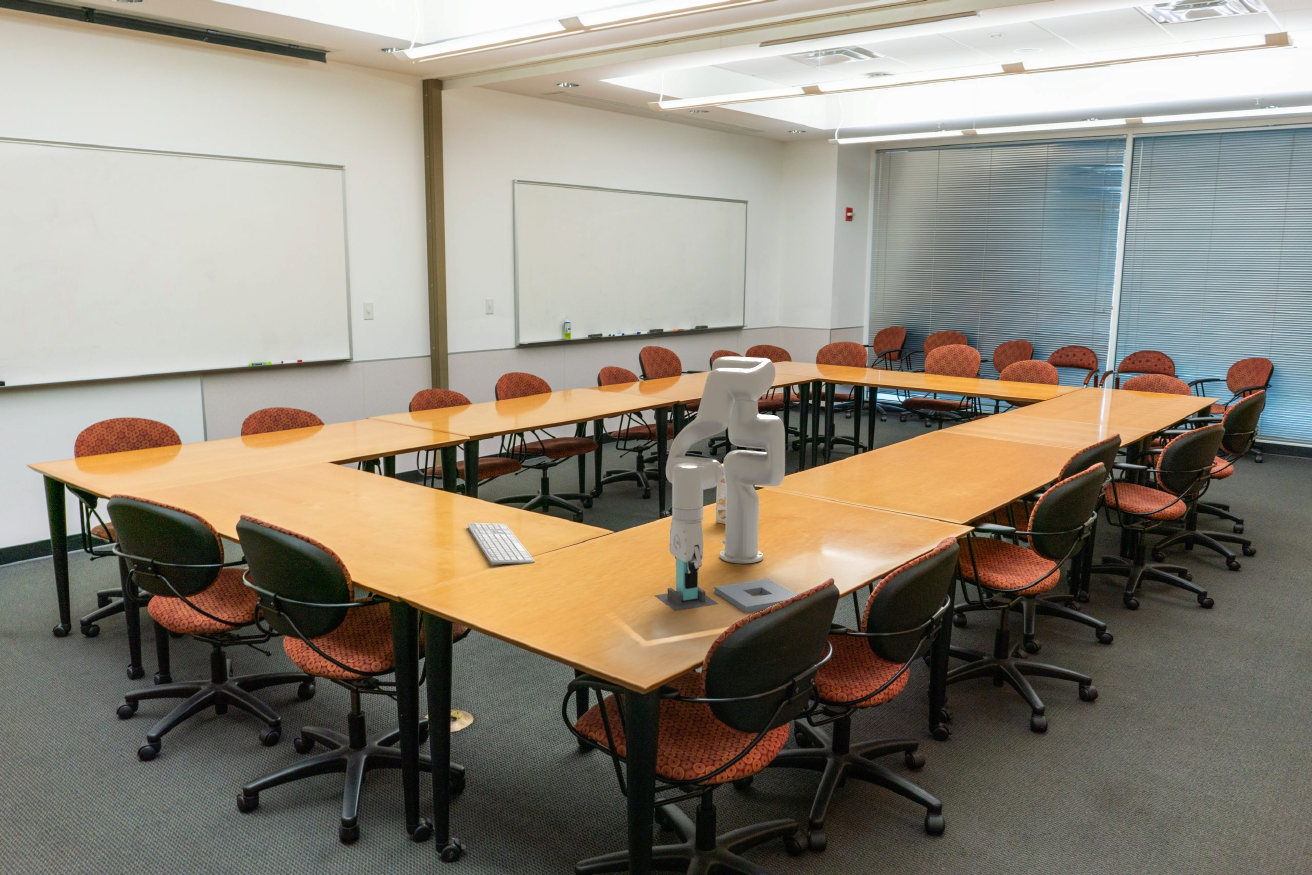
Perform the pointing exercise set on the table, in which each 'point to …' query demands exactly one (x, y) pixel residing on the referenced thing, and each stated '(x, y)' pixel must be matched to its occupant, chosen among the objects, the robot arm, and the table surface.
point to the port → (743, 593)
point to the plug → (680, 581)
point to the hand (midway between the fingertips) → (686, 584)
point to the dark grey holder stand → (677, 603)
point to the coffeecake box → (721, 501)
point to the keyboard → (499, 544)
